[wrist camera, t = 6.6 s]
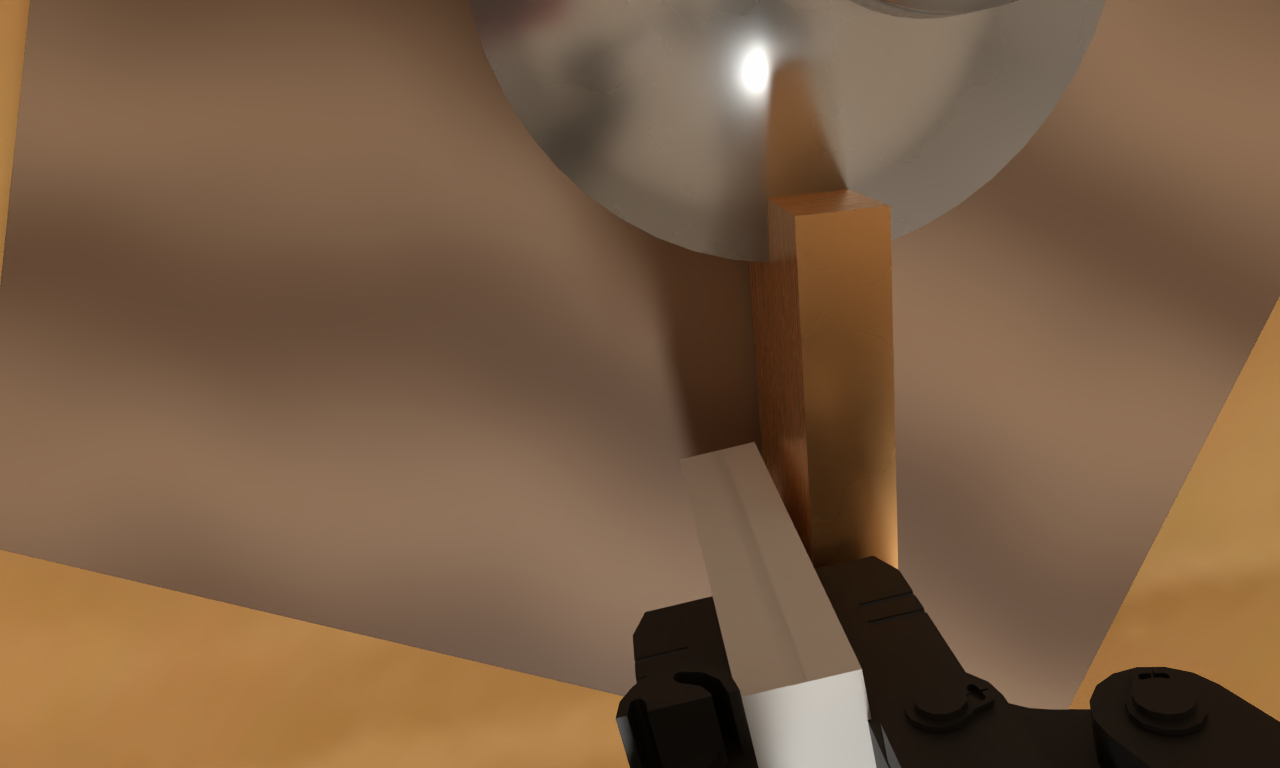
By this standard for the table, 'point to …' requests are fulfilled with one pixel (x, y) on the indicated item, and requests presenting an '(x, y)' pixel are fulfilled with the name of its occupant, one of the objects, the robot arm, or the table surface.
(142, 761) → the table surface
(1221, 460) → the table surface
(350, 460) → the level stand
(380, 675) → the table surface
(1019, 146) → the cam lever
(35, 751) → the table surface
